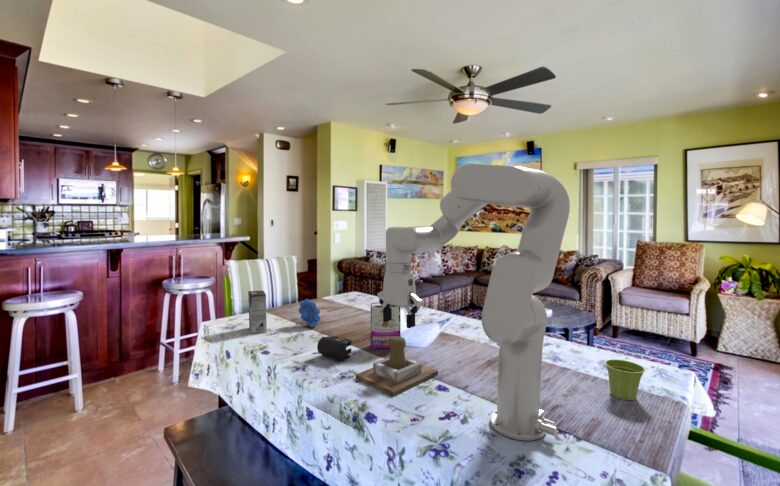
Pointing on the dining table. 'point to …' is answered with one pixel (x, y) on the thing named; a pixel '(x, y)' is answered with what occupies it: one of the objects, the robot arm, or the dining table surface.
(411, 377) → the socket board
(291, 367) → the dining table surface
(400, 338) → the cork
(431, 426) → the dining table surface
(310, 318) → the blue scalloped wheel
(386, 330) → the candy bar box
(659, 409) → the dining table surface
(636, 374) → the plant pot
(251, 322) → the coffee box
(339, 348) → the end cap
